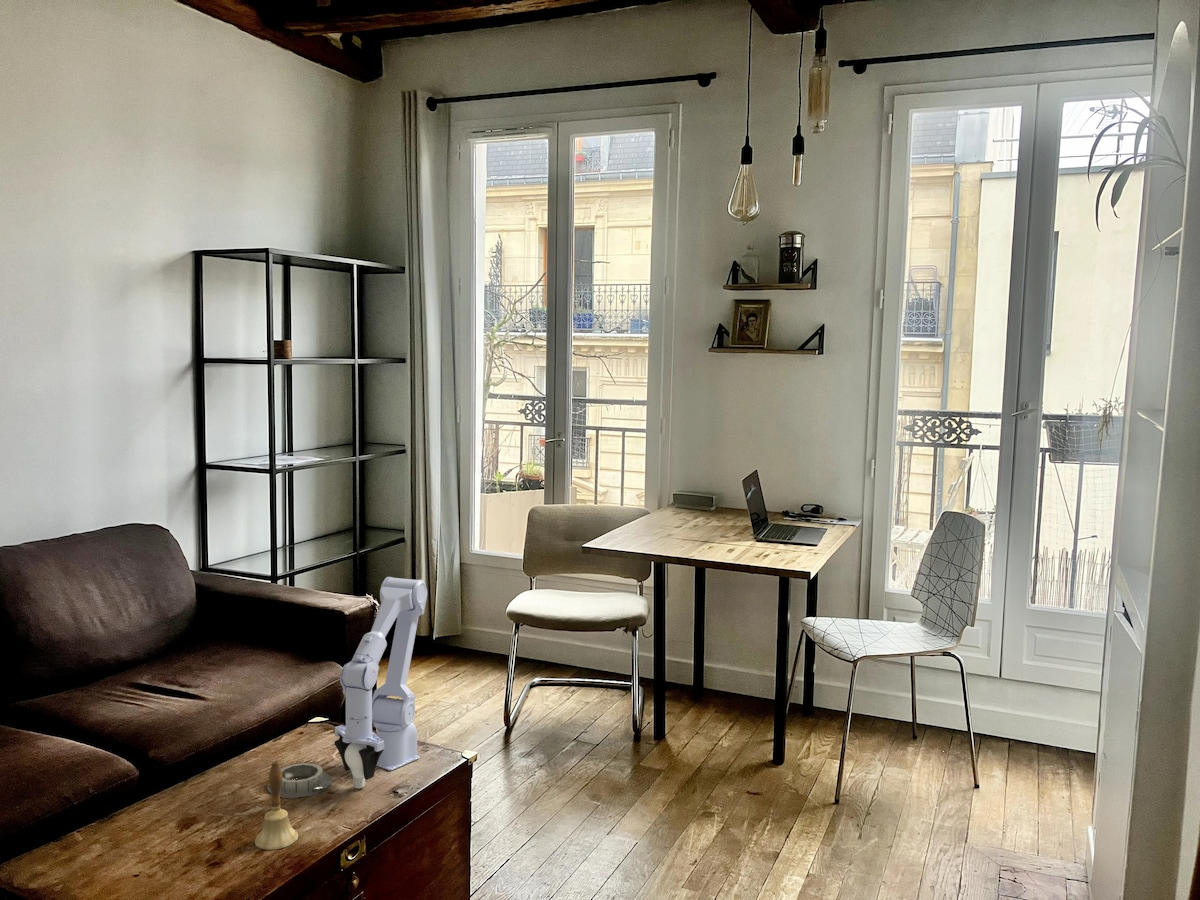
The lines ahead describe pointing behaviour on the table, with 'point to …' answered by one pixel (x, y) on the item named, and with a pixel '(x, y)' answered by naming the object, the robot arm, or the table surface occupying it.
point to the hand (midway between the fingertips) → (359, 773)
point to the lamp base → (303, 780)
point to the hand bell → (276, 818)
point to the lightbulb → (355, 764)
